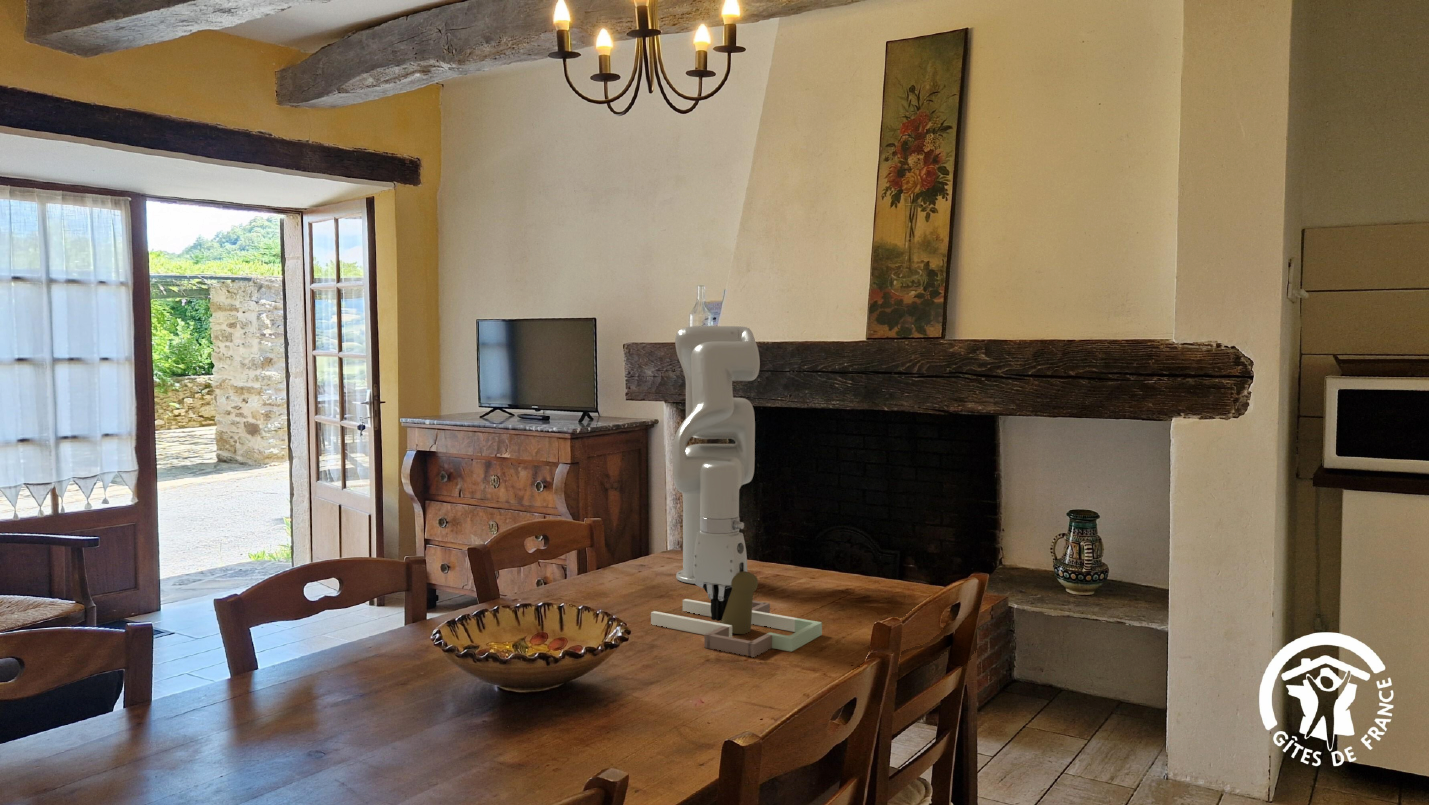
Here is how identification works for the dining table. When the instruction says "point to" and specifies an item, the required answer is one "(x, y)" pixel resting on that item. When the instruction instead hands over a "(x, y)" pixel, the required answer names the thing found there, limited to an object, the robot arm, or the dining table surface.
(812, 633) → the trap lane
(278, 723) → the dining table surface
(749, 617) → the olive pawn
